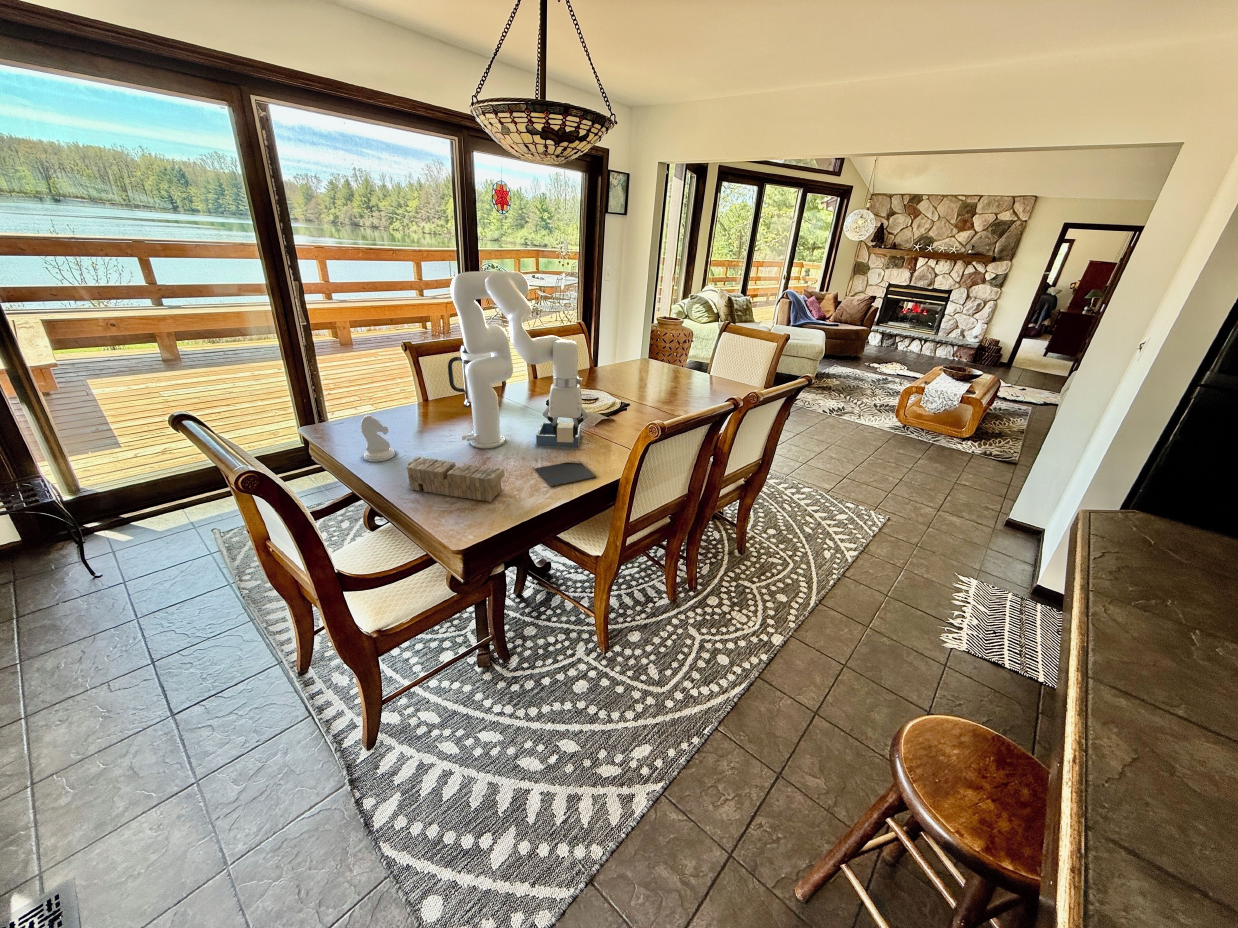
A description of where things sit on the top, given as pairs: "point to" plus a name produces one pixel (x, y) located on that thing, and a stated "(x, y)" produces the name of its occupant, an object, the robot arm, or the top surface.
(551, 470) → the mat
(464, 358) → the coffee press
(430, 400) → the top surface
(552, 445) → the bin
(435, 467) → the block tower
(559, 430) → the block
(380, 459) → the chess piece
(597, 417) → the grey curved sheet
